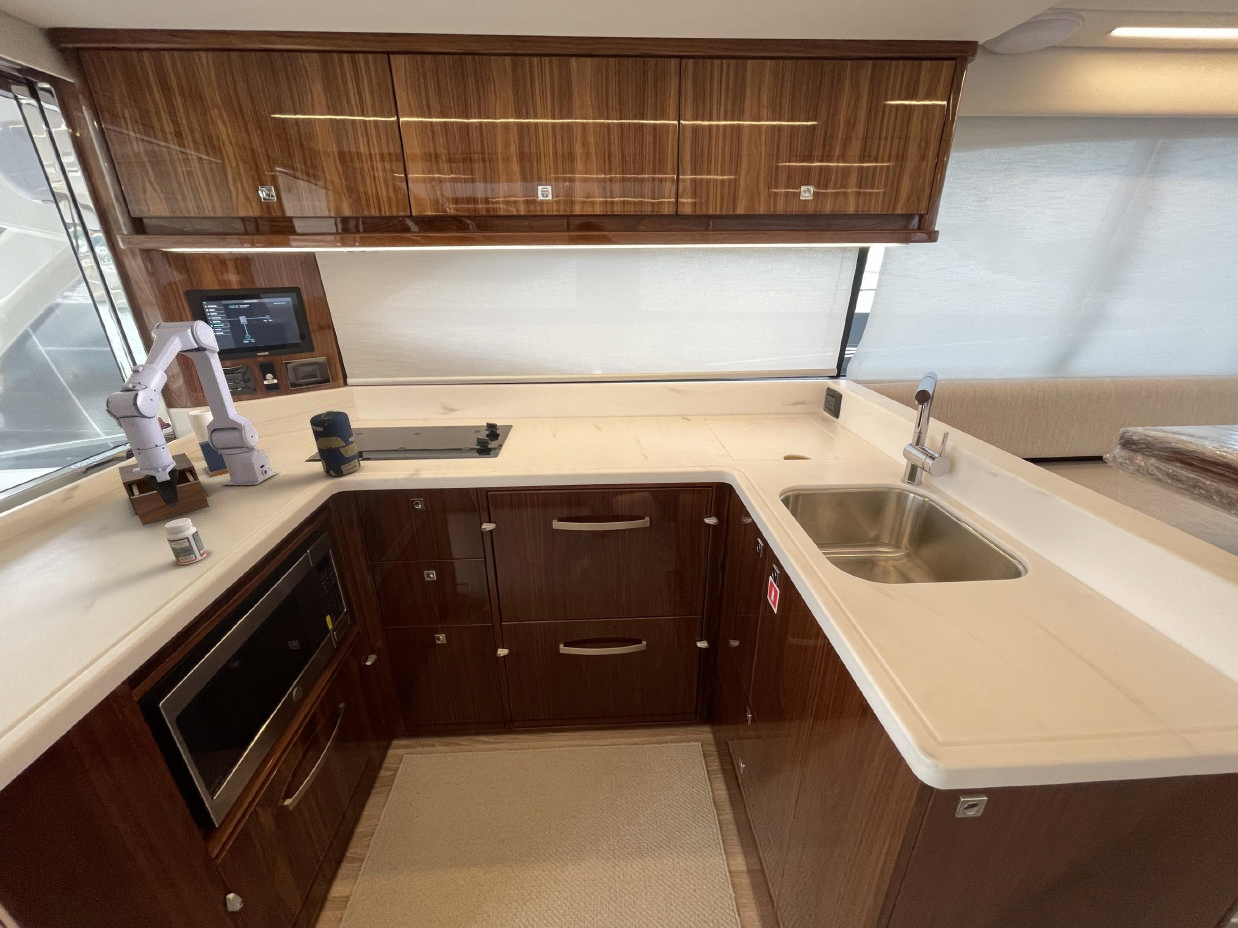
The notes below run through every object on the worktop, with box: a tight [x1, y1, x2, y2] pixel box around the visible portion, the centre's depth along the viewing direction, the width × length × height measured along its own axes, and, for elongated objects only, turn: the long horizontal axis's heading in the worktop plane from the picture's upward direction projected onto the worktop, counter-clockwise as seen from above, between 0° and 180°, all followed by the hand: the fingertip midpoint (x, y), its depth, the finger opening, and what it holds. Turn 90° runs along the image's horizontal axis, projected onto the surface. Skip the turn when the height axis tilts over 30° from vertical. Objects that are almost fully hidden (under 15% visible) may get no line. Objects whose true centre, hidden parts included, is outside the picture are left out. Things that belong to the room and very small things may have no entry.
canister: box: [309, 410, 361, 477], centre depth 140 cm, size 10×10×18 cm
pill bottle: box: [163, 517, 207, 566], centre depth 100 cm, size 5×5×8 cm
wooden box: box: [118, 452, 200, 515], centre depth 130 cm, size 16×14×9 cm
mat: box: [204, 466, 229, 477], centre depth 151 cm, size 10×10×1 cm
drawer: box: [131, 470, 210, 526], centre depth 122 cm, size 16×12×7 cm
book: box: [198, 441, 227, 472], centre depth 149 cm, size 3×9×8 cm, turn 136°
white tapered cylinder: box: [187, 408, 213, 443], centre depth 158 cm, size 7×7×15 cm
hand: (172, 502), depth 113 cm, fingers closed
